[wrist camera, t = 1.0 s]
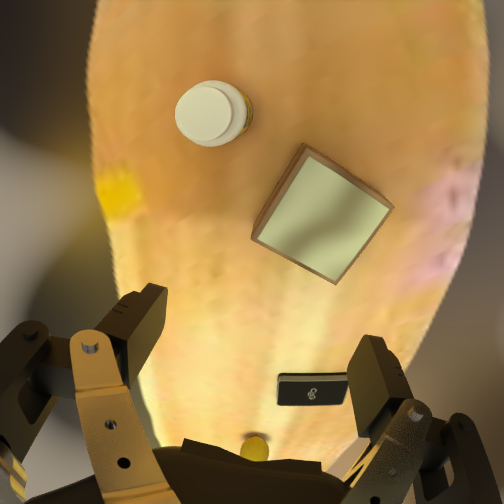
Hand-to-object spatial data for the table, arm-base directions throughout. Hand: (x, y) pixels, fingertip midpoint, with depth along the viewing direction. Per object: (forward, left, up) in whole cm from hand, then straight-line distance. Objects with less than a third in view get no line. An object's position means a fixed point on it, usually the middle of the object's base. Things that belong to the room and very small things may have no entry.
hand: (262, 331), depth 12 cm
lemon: (+22, -44, -21) cm, 53 cm away
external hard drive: (+21, -24, -22) cm, 38 cm away
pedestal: (+5, 0, -21) cm, 22 cm away
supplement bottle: (-8, +4, -22) cm, 23 cm away
